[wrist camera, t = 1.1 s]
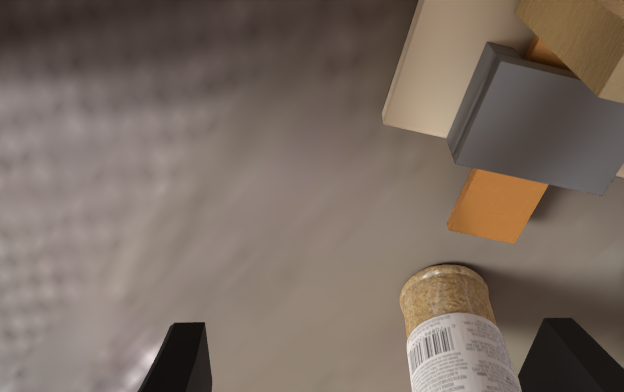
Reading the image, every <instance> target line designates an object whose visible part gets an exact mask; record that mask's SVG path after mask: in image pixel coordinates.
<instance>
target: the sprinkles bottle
mask: <svg viewBox="0 0 624 392" xmlns="http://www.w3.org/2000/svg"><path fill="white" fill-rule="evenodd" d="M400 306H401V309H402V312H403V314H404V318H405V325H406V334H407V340H408V341H407V354H408V362H409V370H410V378H411V386H412V392H520V389H519V386H518V383H517V380H516V377H515V373H514V370H513V367H512V364H511V361H510V358H509V355H508V352H507V349H506V346H505V343H504V340H503V337H502V334H501V332H500V330H499V329H498V326H497V323H496V320H495V316H494V314H493V311H492V307H491V304H490V302H489V291H488V287H487V284H486V283H485V282H484V280H483V279H482V277H481V276H480V275H478V274H477V273H476V272H474V271H473V270H471V269H468V268H466V267H465V266H460V265H446V264H445V265H437V266H431V267H428V268H426V269H423V270H422V271H420V272H418V273H417V274H415V275H414V276H412V277H411V278H410V279H409V280H408V281H407V282H406V284H405V285H404V286H403V288H402V291H401V296H400Z"/></svg>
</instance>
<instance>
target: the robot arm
mask: <svg viewBox="0 0 624 392" xmlns="http://www.w3.org/2000/svg"><path fill="white" fill-rule="evenodd" d="M518 378H519V382H520V385H521V389H522V392H624V369H623V368H622V367H621V366H620V365H619V364H618V363H617V362H616V361H615V360H614V359H613V358H612V357H611V356H610V355H609V354H608V353H607V352H606V351H605V350H604V349H603V348H602V347H601V346H600V345H599V344H598V343H597V342H596V341H595V340H594V339H593V338H592V337H591V336H590V335H589V334H588V333H587V332H586V331H585V330H584V329H583V328H582V327H581V326H580V325H579V324H578V323H576V322H575V321H574V320H573V319H572V318H544V320H543V322H542V324H541V326H540V328H539V331H538V333H537V335H536V337H535V339H534V342H533V344H532V346H531V348H530V350H529V353H528V355H527V357H526V359H525V362H524V364H523V366H522V368H521V370H520V373H519V375H518ZM138 392H212V375H211V368H210V360H209V352H208V344H207V336H206V328H205V322H193V323H174V324H173V325H171V326H170V328H169V330H168V332H167V335H166V337H165V339H164V342H163V344H162V346H161V348H160V350H159V352H158V354H157V356H156V358H155V360H154V362H153V364H152V366H151V368H150V370H149V372H148V374H147V376H146V377H145V379H144V381H143V383H142V385H141V387H140V389H139V390H138Z"/></svg>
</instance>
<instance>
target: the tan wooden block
mask: <svg viewBox="0 0 624 392" xmlns="http://www.w3.org/2000/svg"><path fill="white" fill-rule="evenodd" d="M514 13H515V14H516V15H517V16H518V17H519V18H520V19H521V20H522V21H523V22H524V23H525V24H526V25H527V26H528V27H529V28H530V29H531V30H532V31H533V32H534V33H535V35H534V38H533V40H532V42H531V44H530V46H529V48H528V50H527V53H526V55H525V57H524V59H523V60H527V61H531V62H535V63H540V64H544V65H548V66H552V67H556V68H561V69H565V70H569V71H573V72H574V73H575V74H576V75H577V76H578V77H579V78H580V79H581V80H582V81H583V82H584V83H585V85H586V86H587V87H588V88H589V89H590V90H591V91H592V92H593V93H594V94H595V95H596V96H597V97H599V98H603V99H607V100H611V101H616V102H620V103H624V0H520V1H519V3H518V5H517V7H516V10H515V12H514ZM548 185H549V184H544V183H540V182H535V181H531V180H526V179H521V178H517V177H512V176H508V175H503V174H498V173H494V172H489V171H485V170H480V169H476V168H472V170H471V172H470V174H469V177H468V179H467V181H466V183H465V185H464V187H463V189H462V192H461V194H460V196H459V198H458V200H457V202H456V204H455V207H454V209H453V211H452V213H451V215H450V217H449V219H448V221H447V226H448V229H449V230H450V231H455V232H460V233H465V234H470V235H475V236H479V237H484V238H489V239H494V240H499V241H504V242H508V243H513V244H515V242H516V240H517V239H518V237H519V235H520V233H521V232H522V230H523V228H524V227H525V225H526V223H527V221H528V220H529V218H530V216H531V214H532V213H533V211H534V209H535V208H536V206H537V204H538V202H539V201H540V199H541V197H542V196H543V194H544V192H545V190H546V189H547V187H548Z"/></svg>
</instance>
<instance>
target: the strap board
mask: <svg viewBox="0 0 624 392" xmlns="http://www.w3.org/2000/svg"><path fill="white" fill-rule="evenodd" d="M519 1H520V0H419V1H418V4H417V7H416V10H415V13H414V16H413V19H412V22H411V25H410V29H409V32H408V35H407V38H406V41H405V44H404V47H403V50H402V53H401V56H400V59H399V62H398V65H397V68H396V71H395V75H394V78H393V81H392V84H391V87H390V90H389V93H388V96H387V99H386V102H385V105H384V108H383V111H382V118H383V124H384V125H389V126H393V127H398V128H402V129H407V130H411V131H416V132H420V133H425V134H429V135H434V136H438V137H443V138H446V139H447V142H448V145H449V147H450V150H451V153H452V156H453V159H454V162H455V164H457V165H462V166H466V167H471V168H476V169H480V170H485V171H489V172H494V173H498V174H503V175H508V176H512V177H517V178H521V179H526V180H531V181H535V182H540V183H544V184H549V185H553V186H558V187H563V188H567V189H572V190H576V191H581V192H586V193H590V194H595V195H599V196H602V195H603V194H604V192H605V191H606V189H607V188H608V186H609V185H610V183H611V182H612V180H613V179H614V177H615V176H619V177H623V178H624V103H620V102H616V101H611V100H607V99H603V98H599V97H597V96H596V95H595V94H594V93H593V92H592V91H591V90H590V89H589V88H588V87H587V86H586V85H585V83H584V82H583V81H582V80H581V79H580V78H579V77H578V76H577V75H576V74H575V73H574V72H573V71H569V70H565V69H561V68H556V67H552V66H548V65H544V64H540V63H535V62H531V61H527V60H523V59H524V57H525V55H526V53H527V50H528V48H529V46H530V44H531V42H532V40H533V38H534V35H535V33H534V32H533V31H532V30H531V29H530V28H529V27H528V26H527V25H526V24H525V23H524V22H523V21H522V20H521V19H520V18H519V17H518V16H517V15H516V14H515V13H514V12H515V10H516V7H517V5H518V3H519Z"/></svg>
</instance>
